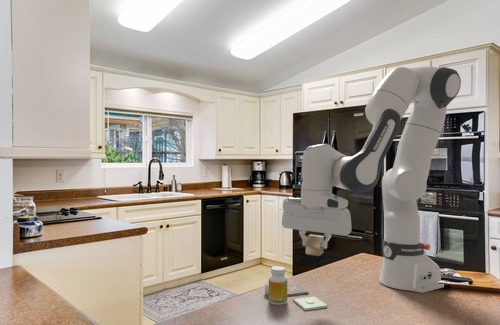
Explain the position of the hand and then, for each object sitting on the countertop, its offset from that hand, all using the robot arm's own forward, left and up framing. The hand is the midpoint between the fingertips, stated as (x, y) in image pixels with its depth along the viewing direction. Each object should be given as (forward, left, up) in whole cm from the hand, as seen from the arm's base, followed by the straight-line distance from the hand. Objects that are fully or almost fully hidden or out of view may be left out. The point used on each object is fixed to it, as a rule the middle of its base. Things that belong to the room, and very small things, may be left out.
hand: (314, 246), depth 103 cm
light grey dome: (+9, -9, -16) cm, 20 cm away
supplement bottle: (+10, -3, -16) cm, 19 cm away
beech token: (0, 0, -2) cm, 2 cm away
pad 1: (+2, -9, -16) cm, 18 cm away
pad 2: (+2, +2, -16) cm, 16 cm away
